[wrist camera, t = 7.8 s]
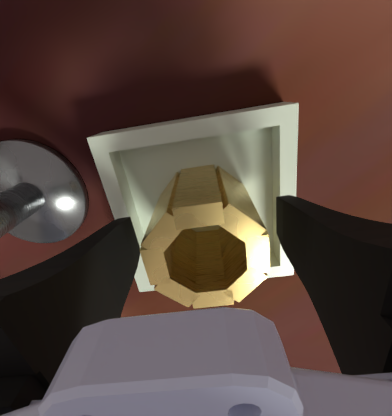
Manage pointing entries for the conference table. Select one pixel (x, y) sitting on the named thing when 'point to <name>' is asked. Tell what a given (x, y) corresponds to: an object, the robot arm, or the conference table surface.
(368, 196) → the conference table surface
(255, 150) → the tray
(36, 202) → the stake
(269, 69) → the conference table surface
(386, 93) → the conference table surface
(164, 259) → the collar
